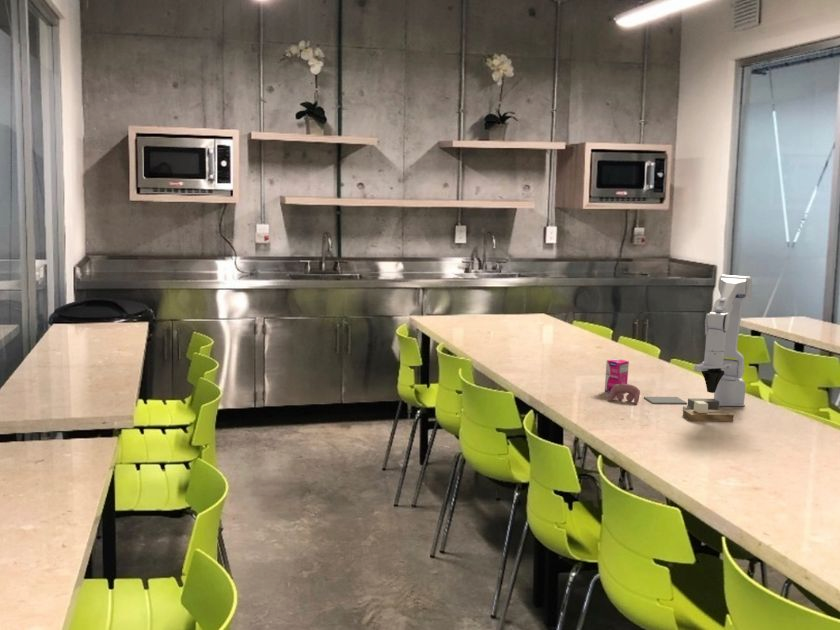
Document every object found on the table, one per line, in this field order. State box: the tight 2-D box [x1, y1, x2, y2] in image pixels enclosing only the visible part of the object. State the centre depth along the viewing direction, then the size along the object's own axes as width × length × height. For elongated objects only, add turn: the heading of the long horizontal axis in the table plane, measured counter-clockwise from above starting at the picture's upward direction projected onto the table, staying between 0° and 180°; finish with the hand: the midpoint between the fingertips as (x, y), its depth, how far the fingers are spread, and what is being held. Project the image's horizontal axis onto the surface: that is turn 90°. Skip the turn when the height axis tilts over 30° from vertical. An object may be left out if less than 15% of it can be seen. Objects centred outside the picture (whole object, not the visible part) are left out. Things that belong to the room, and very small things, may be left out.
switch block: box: [682, 409, 734, 422], centre depth 268 cm, size 14×6×2 cm, turn 97°
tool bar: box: [682, 397, 720, 411], centre depth 278 cm, size 11×4×4 cm, turn 97°
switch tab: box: [694, 401, 708, 413], centre depth 268 cm, size 3×4×3 cm
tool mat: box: [643, 396, 688, 405], centre depth 289 cm, size 12×8×1 cm, turn 97°
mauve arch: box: [608, 383, 641, 405], centre depth 287 cm, size 10×5×7 cm, turn 66°
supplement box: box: [604, 358, 630, 393], centre depth 300 cm, size 6×6×12 cm
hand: (711, 392), depth 268 cm, fingers closed
